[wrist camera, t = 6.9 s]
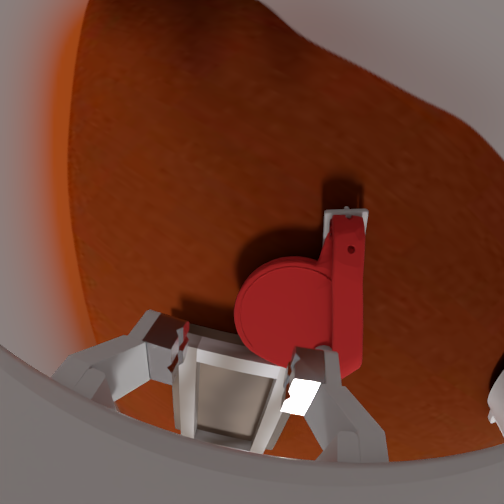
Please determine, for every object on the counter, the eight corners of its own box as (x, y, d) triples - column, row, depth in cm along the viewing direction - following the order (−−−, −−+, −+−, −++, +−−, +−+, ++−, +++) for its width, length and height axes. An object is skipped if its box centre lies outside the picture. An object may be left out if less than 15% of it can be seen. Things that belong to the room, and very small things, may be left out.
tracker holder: (213, 291, 22) (292, 380, 23) (193, 315, 18) (289, 416, 18) (347, 188, 19) (418, 298, 19) (360, 189, 14) (441, 322, 15)
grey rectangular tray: (314, 349, 23) (315, 372, 21) (273, 442, 30) (270, 459, 28) (175, 319, 24) (163, 339, 21) (178, 421, 31) (171, 437, 28)
